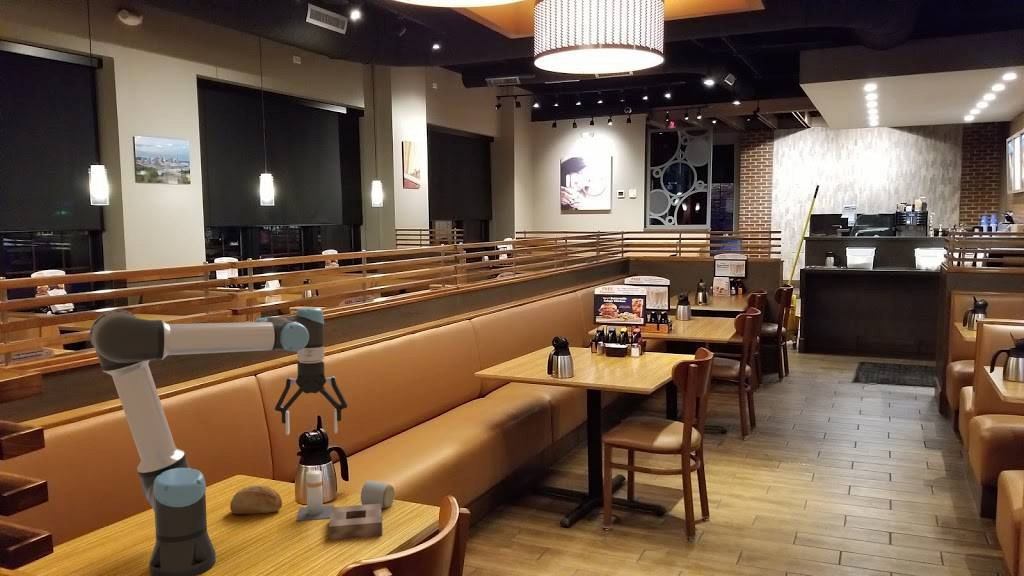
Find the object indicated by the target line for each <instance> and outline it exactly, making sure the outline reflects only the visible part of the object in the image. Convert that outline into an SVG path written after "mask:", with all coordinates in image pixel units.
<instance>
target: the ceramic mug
mask: <svg viewBox="0 0 1024 576" xmlns="http://www.w3.org/2000/svg"><path fill="white" fill-rule="evenodd" d="M394 498H395V488H394V486H393V485H392V484H389V483H386V482H381V481H376V480H371V479H370V480H369V479H368V480H366V481H365V483H364V484H363V485H362V488H361V491H360V503H361V505H368V504H381V509H388V508H389V507H391V506H392V504H393V502H394Z"/></svg>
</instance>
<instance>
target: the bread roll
mask: <svg viewBox="0 0 1024 576" xmlns="http://www.w3.org/2000/svg"><path fill="white" fill-rule="evenodd" d="M282 506H283V501H282V497H281V496H280V494H279V493H278V492H277V491H276V490H275V488H274V489H273V488H271V487H270V486H267V485H264V484H263V485H262V484H261V485H260V484H254V485H249V486H246V487H243V488H242V489H240V490H238V491H237V492H236V493H235V494H234V495H233V497H232V499H231V501H230V504H229V509H230V511H231V513H233V514H234V515H249V514H262V513H264V514H265V513H273V512H277V511H279V510H280V509H281V508H282Z"/></svg>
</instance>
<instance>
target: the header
mask: <svg viewBox="0 0 1024 576" xmlns="http://www.w3.org/2000/svg"><path fill="white" fill-rule="evenodd" d="M383 533H384V531H383V515H382V508H381V504H368V505H362V504H354V505H343V506H334V507H332V508H331V515H330V519H329V524H328V541H334V540H335V541H336V540H337V541H338V540H349V539H359V538H360V539H362V538H373V537H382V536H383V535H384V534H383Z"/></svg>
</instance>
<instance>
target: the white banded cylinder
mask: <svg viewBox="0 0 1024 576" xmlns="http://www.w3.org/2000/svg"><path fill="white" fill-rule="evenodd" d="M305 475H306V477H305V478H306V482H305V483H306V484H305V485H306V505H307V506H306V507H307V512H308V515H319V514H322V513H323V506H324V502H323V501H324V500H323V497H324V496H323V472H322V471H321V470H318V469H317V470H314V469H313V470H309V471H307V472H306V473H305Z"/></svg>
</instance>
